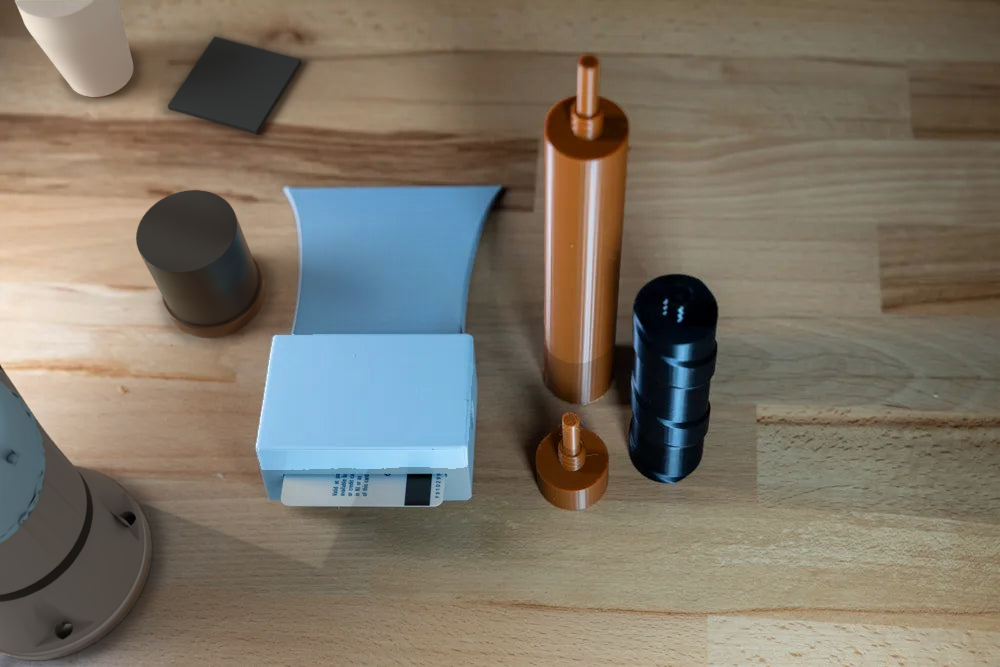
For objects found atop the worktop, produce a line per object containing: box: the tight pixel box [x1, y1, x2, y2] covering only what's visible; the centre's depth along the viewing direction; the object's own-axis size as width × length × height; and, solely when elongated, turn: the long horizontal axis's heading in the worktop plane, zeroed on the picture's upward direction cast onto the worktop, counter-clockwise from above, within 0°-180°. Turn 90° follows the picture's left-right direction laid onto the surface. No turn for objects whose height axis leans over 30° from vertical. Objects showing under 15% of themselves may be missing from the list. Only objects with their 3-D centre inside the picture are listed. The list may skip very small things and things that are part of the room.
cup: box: [14, 0, 134, 98], centre depth 115 cm, size 9×9×12 cm
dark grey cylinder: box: [135, 189, 267, 339], centre depth 102 cm, size 9×9×10 cm
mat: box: [167, 36, 302, 135], centre depth 119 cm, size 10×10×1 cm
